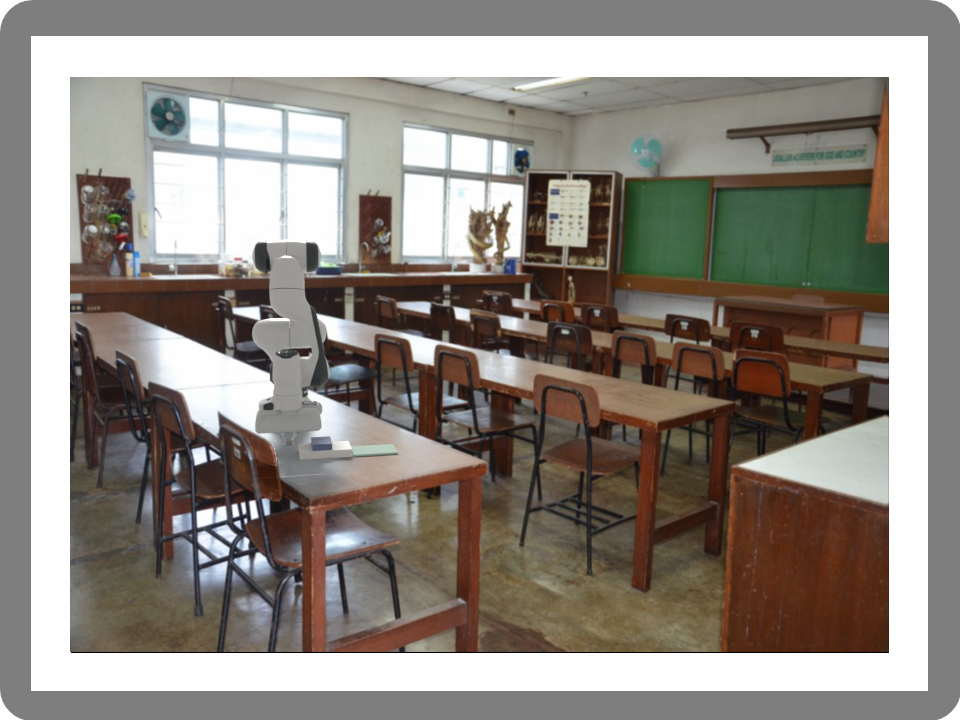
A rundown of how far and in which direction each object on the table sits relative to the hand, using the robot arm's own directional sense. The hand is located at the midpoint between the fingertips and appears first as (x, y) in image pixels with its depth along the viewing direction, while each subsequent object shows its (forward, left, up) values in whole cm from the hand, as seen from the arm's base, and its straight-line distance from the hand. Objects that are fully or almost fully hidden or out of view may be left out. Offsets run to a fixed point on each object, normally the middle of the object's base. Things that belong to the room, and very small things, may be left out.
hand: (289, 445), depth 246 cm
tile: (0, +10, -1) cm, 10 cm away
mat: (0, +27, -4) cm, 27 cm away
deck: (0, +11, -4) cm, 12 cm away
